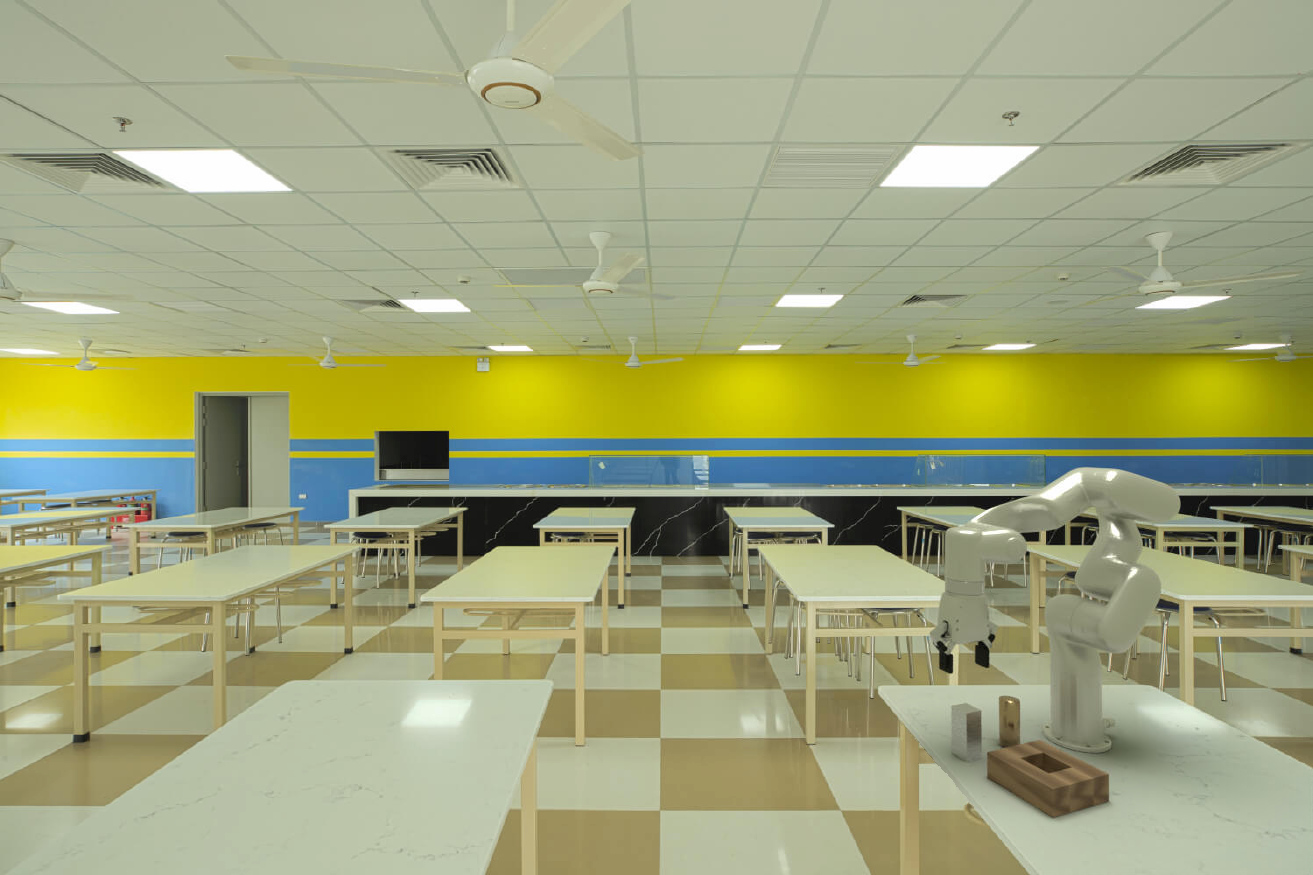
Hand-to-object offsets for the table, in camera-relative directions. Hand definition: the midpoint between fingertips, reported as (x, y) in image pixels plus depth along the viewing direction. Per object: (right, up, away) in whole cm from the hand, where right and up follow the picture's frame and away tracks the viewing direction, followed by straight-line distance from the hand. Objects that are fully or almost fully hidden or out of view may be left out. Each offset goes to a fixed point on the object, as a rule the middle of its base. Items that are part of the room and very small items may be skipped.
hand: (964, 668), depth 133 cm
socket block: (+9, -18, -13) cm, 24 cm away
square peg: (+1, -18, 0) cm, 18 cm away
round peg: (+12, -18, +4) cm, 22 cm away
